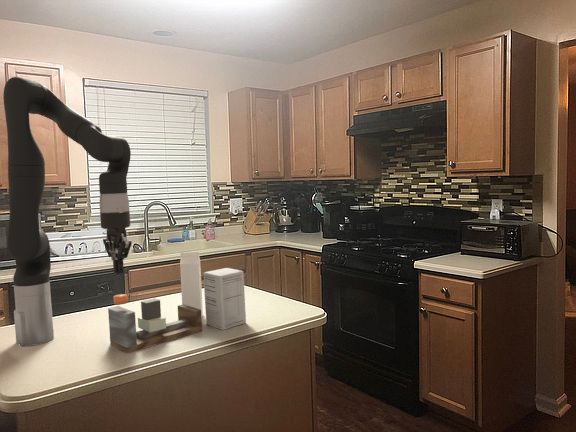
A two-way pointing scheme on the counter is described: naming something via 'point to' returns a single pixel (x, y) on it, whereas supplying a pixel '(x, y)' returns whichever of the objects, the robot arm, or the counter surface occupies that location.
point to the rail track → (172, 333)
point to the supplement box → (224, 298)
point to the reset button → (120, 299)
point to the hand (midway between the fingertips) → (118, 273)
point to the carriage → (151, 316)
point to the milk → (191, 280)
